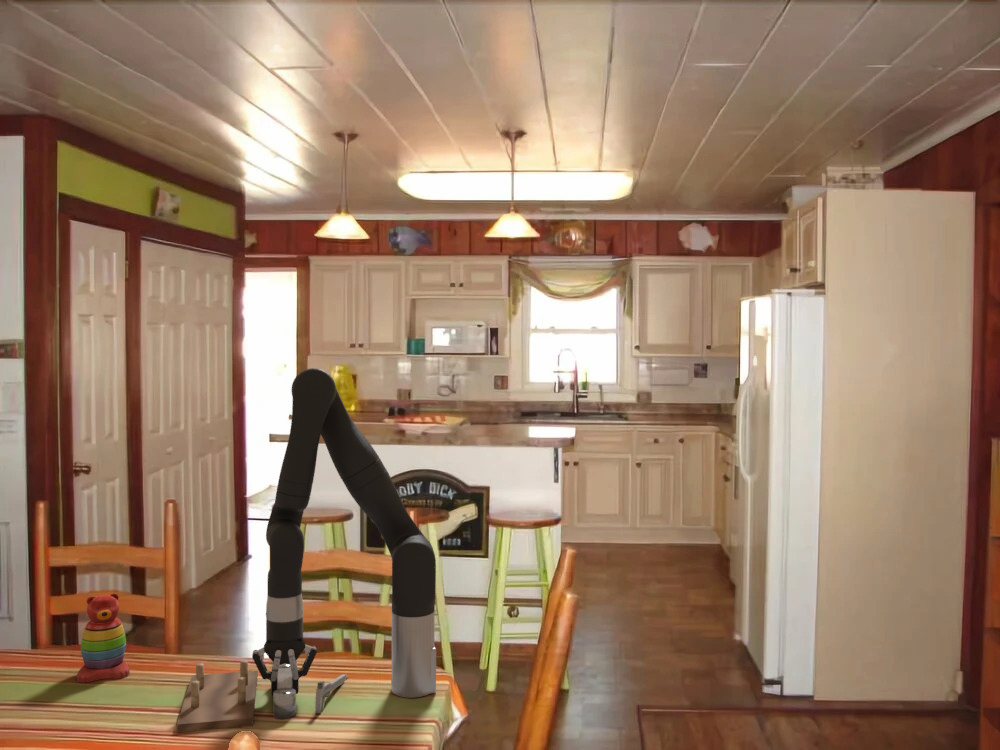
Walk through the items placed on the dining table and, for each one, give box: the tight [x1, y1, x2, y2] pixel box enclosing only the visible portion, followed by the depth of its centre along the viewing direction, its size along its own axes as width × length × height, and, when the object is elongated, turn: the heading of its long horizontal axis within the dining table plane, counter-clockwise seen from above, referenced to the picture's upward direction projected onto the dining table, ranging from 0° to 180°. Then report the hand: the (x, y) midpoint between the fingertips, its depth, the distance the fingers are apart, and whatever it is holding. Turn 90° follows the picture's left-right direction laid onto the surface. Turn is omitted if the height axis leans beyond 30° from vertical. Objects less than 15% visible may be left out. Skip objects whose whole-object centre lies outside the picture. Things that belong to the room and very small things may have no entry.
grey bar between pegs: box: [272, 664, 297, 720], centre depth 184 cm, size 4×20×4 cm, turn 14°
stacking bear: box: [76, 593, 131, 684], centre depth 198 cm, size 11×10×18 cm
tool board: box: [176, 659, 259, 733], centre depth 182 cm, size 14×26×6 cm, turn 14°
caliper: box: [315, 673, 349, 714], centre depth 187 cm, size 20×1×6 cm, turn 174°
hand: (284, 696), depth 184 cm, fingers closed on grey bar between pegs, 3 cm apart
